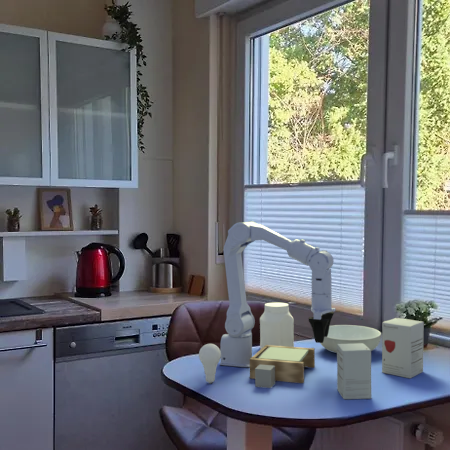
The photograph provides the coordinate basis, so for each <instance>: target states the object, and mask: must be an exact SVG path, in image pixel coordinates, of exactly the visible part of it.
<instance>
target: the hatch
mask: <svg viewBox="0 0 450 450" xmlns="http://www.w3.org/2000/svg"><path fill="white" fill-rule="evenodd" d="M307 353H308V350H305V349H292V348H278V347H268V348H267V349H266V350H265V351H264V352H263V353H262V354H261V355H259V356H258V357H257V358H259V359H272V360H284V361H296V362H301V361H302V360H303V358H304V357H305V356H306V355H307Z"/></svg>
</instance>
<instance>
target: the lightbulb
mask: <svg viewBox="0 0 450 450" xmlns="http://www.w3.org/2000/svg"><path fill="white" fill-rule="evenodd" d="M198 357H199V360H200V363H201V364H202V367H203V370H204V372H203V373H204V375H205V381H206V382H207V383H208V384H212V383H214V382H215V380H216V373H217V367H218V364H219V362H220V361H221V350H220V348H219V346H217V345H216V344H214V343H207V344H204V345H203V346H202V347H200V349H199V352H198Z"/></svg>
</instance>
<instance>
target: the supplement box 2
mask: <svg viewBox="0 0 450 450" xmlns="http://www.w3.org/2000/svg"><path fill="white" fill-rule="evenodd" d="M381 324H382V328H381V330H382V331H381V339H382V340H381V341H382V342H381V343H382V345H381V347H382V349H381V352H382V353H381V355H382V356H381V358H382V359H381V373H383V374H387V375H393V376H395V377H396V376H397V377H402V378H406V379H413V378H414V377H416V376H418V375H420V374H421V373H423V372H424V332H425V331H424V326H425V325H424V324H425V322H424V321H422V320H420V321H419V320H414V319H410V318H409V319H408V318H407V319H405V318H401V317H400V318H399V317H395V318H394V317H393V318H392V319H388V320H384V321H383V322H382V323H381Z"/></svg>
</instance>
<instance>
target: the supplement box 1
mask: <svg viewBox="0 0 450 450" xmlns="http://www.w3.org/2000/svg"><path fill="white" fill-rule="evenodd" d="M336 370H337V371H336V372H337V373H336V377H337V379H336V381H337V382H336V385H337V389H336V390H337V391H338V393H339V395H340V397H341V398H342V399H343V400H362V399H370V400H371V399H372V351H371V350H370V349H369V348H368V347H367V346H366V345H365V344H363V343H357V344H337V353H336Z"/></svg>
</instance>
